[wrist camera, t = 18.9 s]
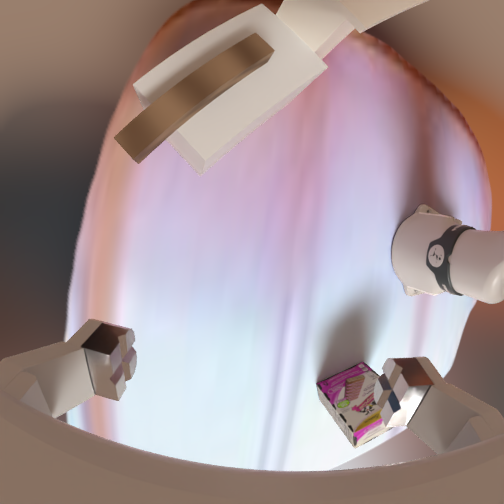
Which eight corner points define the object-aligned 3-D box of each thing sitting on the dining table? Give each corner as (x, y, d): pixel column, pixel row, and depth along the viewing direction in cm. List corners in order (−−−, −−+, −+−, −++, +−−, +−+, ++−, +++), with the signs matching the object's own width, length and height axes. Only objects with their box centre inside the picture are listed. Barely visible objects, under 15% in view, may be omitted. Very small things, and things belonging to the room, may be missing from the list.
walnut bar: (249, 45, 27) (255, 32, 24) (267, 62, 28) (274, 50, 25) (120, 144, 26) (113, 137, 23) (138, 164, 27) (133, 159, 24)
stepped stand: (289, 26, 42) (361, -71, 14) (333, 71, 45) (435, -4, 17) (149, 122, 40) (105, 17, 13) (200, 176, 43) (218, 126, 16)
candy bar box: (362, 359, 54) (410, 400, 38) (365, 377, 55) (409, 418, 39) (314, 382, 53) (353, 433, 37) (318, 400, 54) (355, 450, 38)
